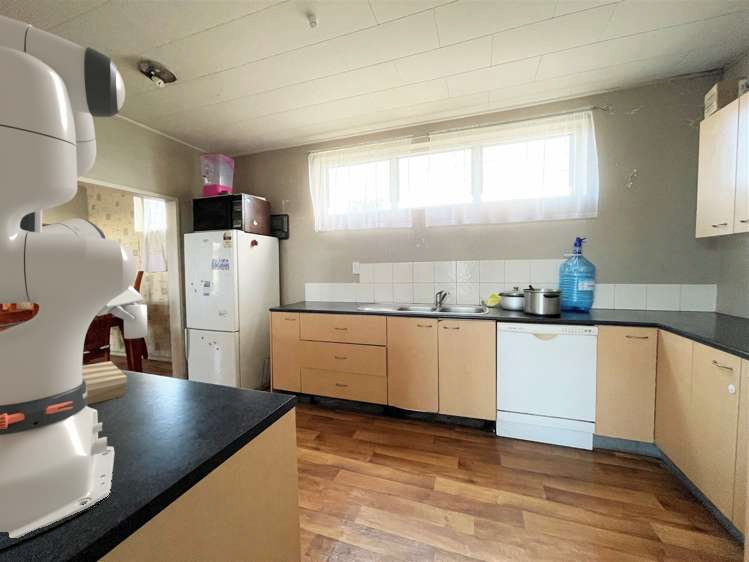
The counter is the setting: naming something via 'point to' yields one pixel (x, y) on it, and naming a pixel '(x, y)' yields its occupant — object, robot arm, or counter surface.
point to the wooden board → (103, 382)
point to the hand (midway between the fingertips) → (138, 318)
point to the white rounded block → (136, 322)
